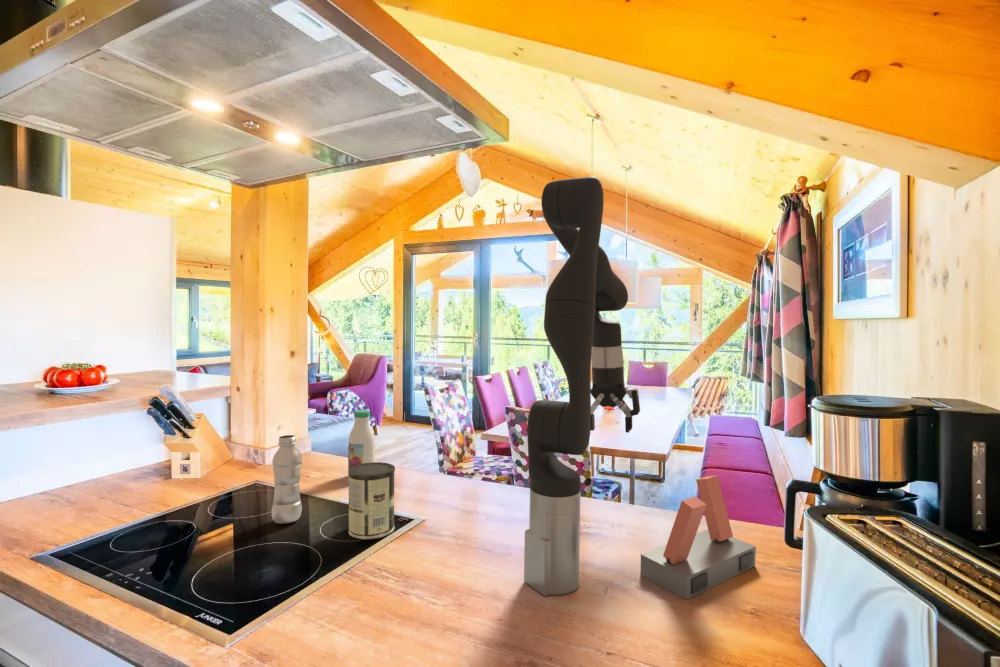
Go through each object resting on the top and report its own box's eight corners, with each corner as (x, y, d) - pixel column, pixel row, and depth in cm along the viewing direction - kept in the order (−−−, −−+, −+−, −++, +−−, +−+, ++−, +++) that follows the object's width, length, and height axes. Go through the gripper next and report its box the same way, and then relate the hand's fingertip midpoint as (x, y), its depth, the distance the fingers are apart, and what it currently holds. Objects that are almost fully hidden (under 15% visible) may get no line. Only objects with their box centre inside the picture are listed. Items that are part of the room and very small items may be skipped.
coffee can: (371, 517, 121) (371, 459, 121) (403, 527, 116) (404, 466, 116) (337, 532, 112) (338, 470, 112) (371, 543, 107) (371, 478, 107)
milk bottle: (367, 471, 158) (368, 407, 157) (378, 477, 152) (379, 411, 152) (344, 475, 153) (344, 410, 153) (354, 482, 147) (355, 414, 147)
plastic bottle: (265, 523, 117) (265, 438, 116) (289, 514, 123) (289, 432, 122) (284, 529, 114) (284, 441, 113) (308, 519, 120) (308, 435, 119)
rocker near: (672, 566, 91) (692, 508, 88) (661, 557, 93) (681, 500, 90) (686, 561, 93) (706, 504, 90) (675, 551, 95) (694, 495, 92)
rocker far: (722, 543, 99) (706, 478, 102) (710, 543, 101) (695, 479, 104) (733, 538, 101) (717, 475, 104) (722, 538, 103) (706, 476, 106)
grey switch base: (687, 600, 87) (688, 577, 87) (640, 575, 95) (640, 554, 95) (756, 566, 99) (757, 546, 99) (709, 547, 108) (709, 528, 107)
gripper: (574, 366, 121) (577, 433, 122) (635, 366, 115) (637, 436, 116) (582, 362, 128) (584, 425, 129) (639, 362, 122) (642, 428, 123)
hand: (610, 430), depth 122 cm, fingers open, 8 cm apart
